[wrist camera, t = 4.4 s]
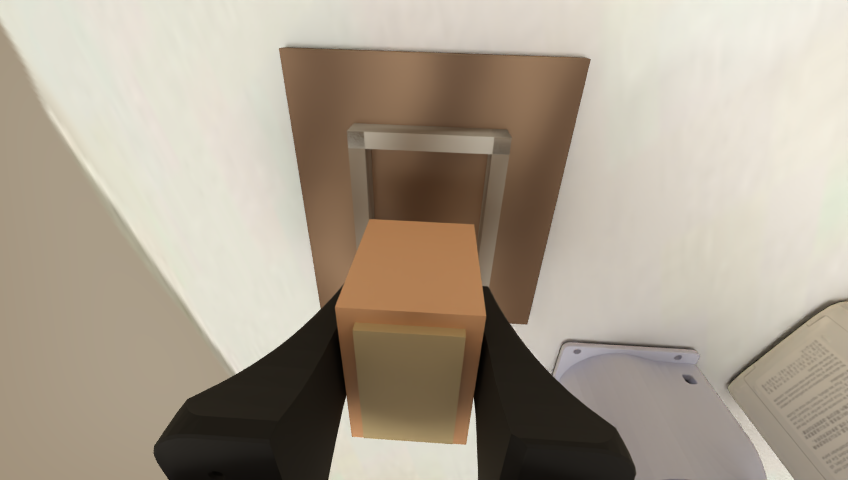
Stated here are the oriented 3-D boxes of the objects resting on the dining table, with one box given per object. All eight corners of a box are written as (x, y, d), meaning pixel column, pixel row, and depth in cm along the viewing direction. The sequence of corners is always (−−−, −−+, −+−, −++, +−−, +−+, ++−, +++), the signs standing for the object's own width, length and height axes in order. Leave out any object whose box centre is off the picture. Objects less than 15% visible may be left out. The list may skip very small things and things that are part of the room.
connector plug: (473, 224, 14) (487, 324, 9) (461, 337, 17) (466, 453, 12) (369, 219, 14) (331, 315, 9) (376, 331, 17) (349, 445, 12)
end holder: (584, 57, 17) (603, 62, 15) (525, 316, 25) (531, 341, 23) (285, 47, 17) (264, 50, 15) (324, 304, 25) (314, 328, 23)
